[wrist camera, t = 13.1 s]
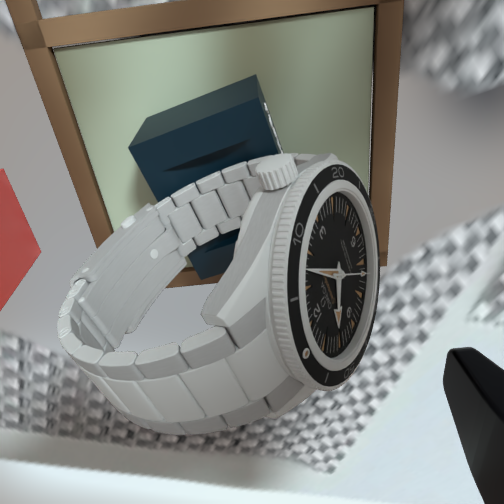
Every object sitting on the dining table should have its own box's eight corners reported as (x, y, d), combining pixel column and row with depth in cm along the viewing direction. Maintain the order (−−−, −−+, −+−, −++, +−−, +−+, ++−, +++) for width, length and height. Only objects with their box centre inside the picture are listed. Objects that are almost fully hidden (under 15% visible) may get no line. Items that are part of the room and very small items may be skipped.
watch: (348, 189, 18) (454, 427, 9) (169, 249, 20) (104, 505, 10) (309, 49, 15) (407, 189, 6) (103, 132, 17) (-72, 345, 7)
